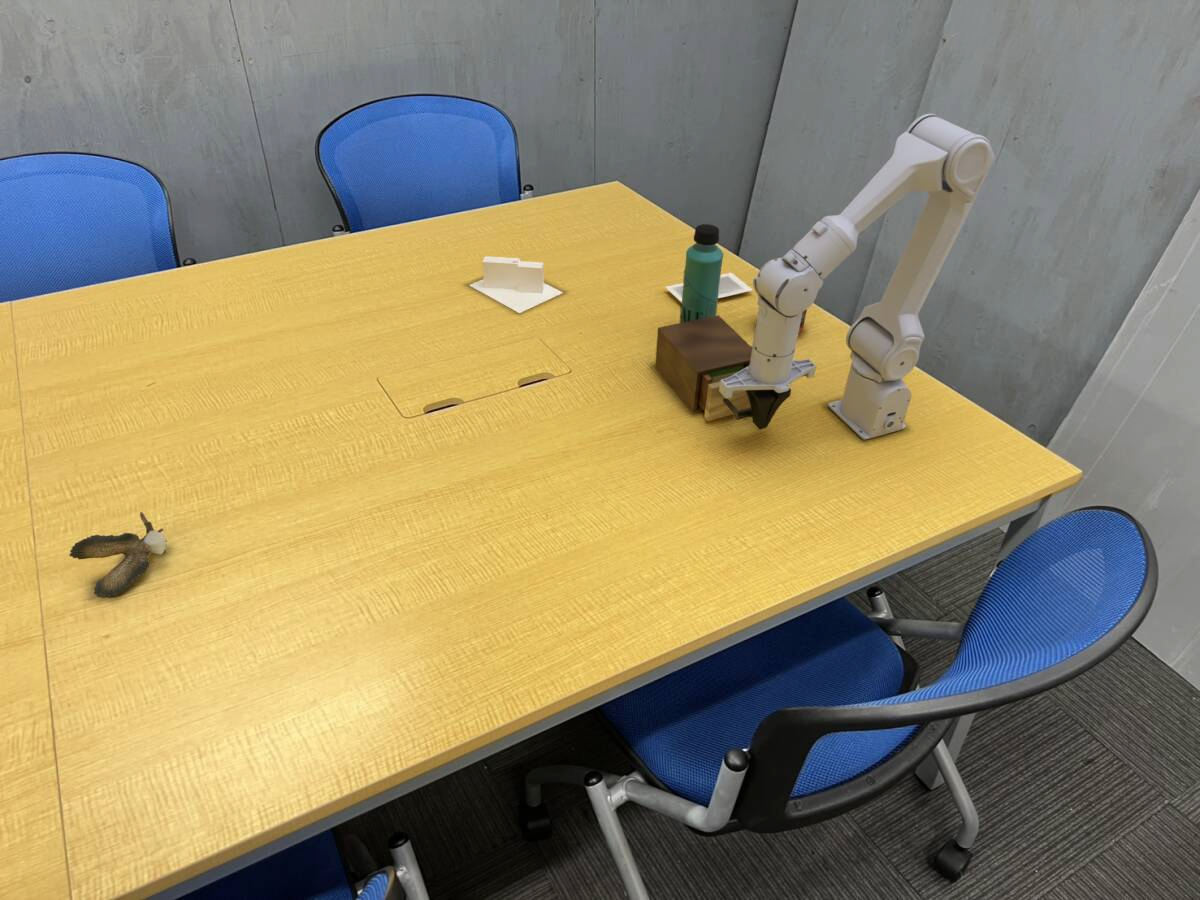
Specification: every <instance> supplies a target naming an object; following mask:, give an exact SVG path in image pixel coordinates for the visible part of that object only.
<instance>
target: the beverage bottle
mask: <svg viewBox="0 0 1200 900" xmlns="http://www.w3.org/2000/svg"><path fill="white" fill-rule="evenodd" d="M693 242H695V243H694V244H691V246H689V247H688V248H687V249H686V252H685V264H684V270H683V279H682V283H683V284H684V285H683V286H682V287H683V291H682V292H683V296H682V302H681V303H680V308H679V311H680V312H679V320H678V321H679V323H683V322H688V321H693V320H697V319H702V318H707V317H712V316H717V315H718V313H717V311H718V304H719V302H718V301H719V298H718V293H719V292H718V291H719V283H720V275H722V274H721V273H722V266H723V259H724V252H723V251H722V249H721V248H720V247H719V246H718V245H717V244H718V243H719V242H720V229H719V227H718V226H716V225H713V224H709V223H704V224H699V225H697V226H696V227H695V229H694V234H693Z"/></svg>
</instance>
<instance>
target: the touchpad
mask: <svg viewBox="0 0 1200 900" xmlns="http://www.w3.org/2000/svg"><path fill="white" fill-rule="evenodd" d="M683 285H684V284H683V282H681V283H676V284H672V285H667V286H665V287H664V288H665V289H666V290H667V291H669V293H671V294H672V295H673V296H674V297H675V298H676V299H677V300H678V301H679V302H680V303H682V296H683V292H682V291H683V287H682V286H683ZM752 291H754V289H752V287H750V286H749V285H748V284H746V283H745V282H744V281H743V280H742V279H740V278H739V277H737V276H736V275H735V274H734V273H733V272H728V273H723V274H721V275H720V283H719V291H718V292H719V293H718V299H722V298H725V297H730V296H731V297H732V296H734V295H735V296H736V295H739V294H743V293H747V292H752Z"/></svg>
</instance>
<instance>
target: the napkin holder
mask: <svg viewBox="0 0 1200 900" xmlns="http://www.w3.org/2000/svg"><path fill="white" fill-rule="evenodd" d="M521 259H522V258H520V257H505V256H489V255H488V256H484V257H483V260H482V272H483V273H482V274H483V278H482V279H480V280H478V281H476V282H473V283H471V284H469V285H468V286H469V287H471V288H473V289H475V290H477V291H478V292H480V293H482V294H484V295H486V296H487V297H490V298H491V299H493V300H495V301H496V302H498V303H500V304H501V305H504V306H506V308H509V309H510V310H512V311H515V312H517V313H518V314H521V313H524V312H525V311H527V310H529V309H532V308H534V307H536V306H539V305H540V304H543V303H544V302H547V301H549V300H550V299H553V298H555V297H558V296H560V295H562V294H564V292H563V291H561V290H559V289H557V288H556V287H553V286H551V285H549V284H548V283H545V269H544V262H542V261H541V262H540V261H528V260H527V261H526V260H521Z"/></svg>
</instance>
